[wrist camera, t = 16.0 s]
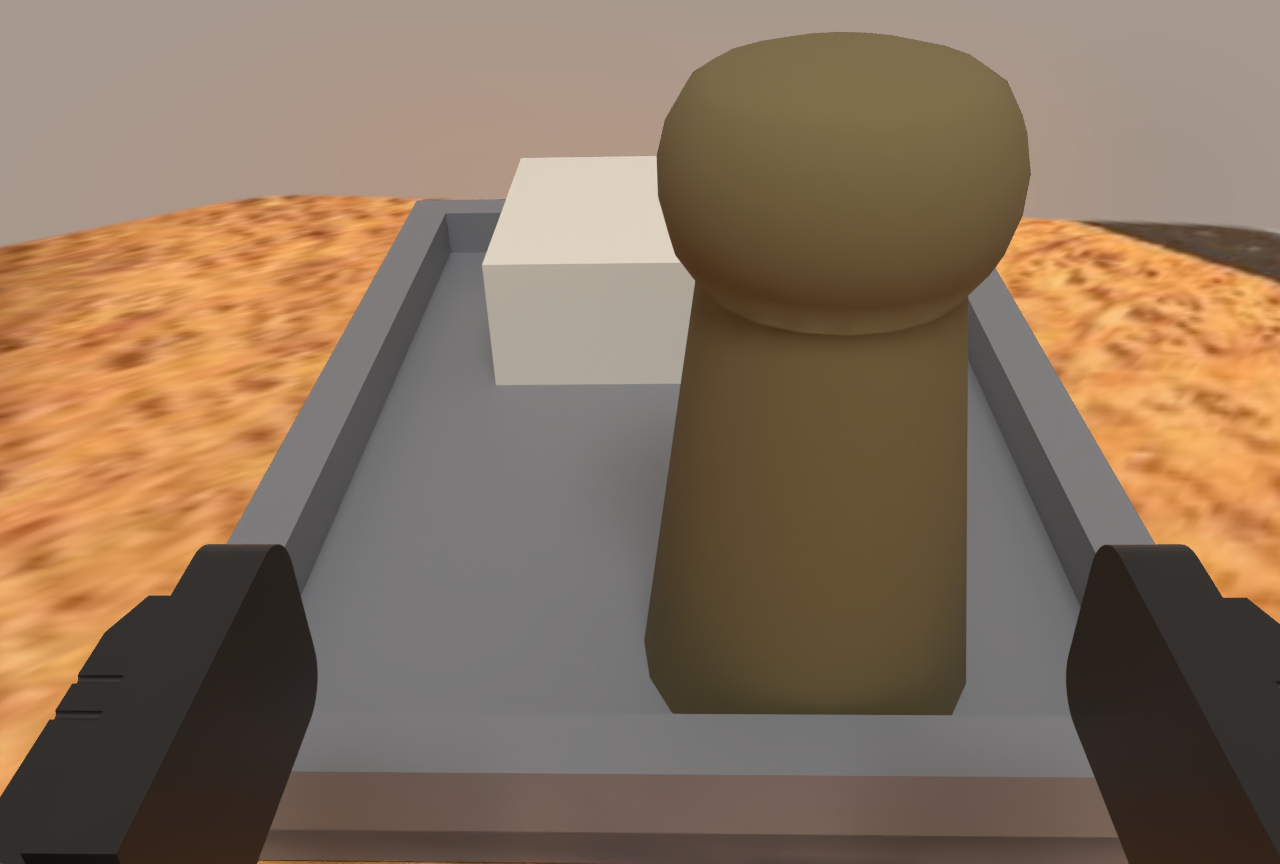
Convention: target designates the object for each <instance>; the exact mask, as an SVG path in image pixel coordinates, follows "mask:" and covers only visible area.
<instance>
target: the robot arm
mask: <svg viewBox="0 0 1280 864" xmlns="http://www.w3.org/2000/svg"><path fill="white" fill-rule="evenodd" d="M317 683H318V668H317V658H316V653H315V648H314V645H313V641H312V637H311V633H310V629H309V626H308V622H307V618H306V614H305V610H304V606H303V603H302V599H301V595H300V591H299V587H298V583H297V580H296V576H295V572H294V568H293V564H292V561H291V558H290V555H289V553H288V551H287V550H286V548H285V547H284V546H282V545H280V544H208V545H204V546H203V547H201V548H200V549H199V550H198V551H197V552H196V554H195V555H194V557H193V559H192V560H191V562H190V564H189V565H188V567H187V569H186V570H185V572H184V574H183V576H182V577H181V579H180V581H179V582H178V584H177V586H176V588H175V589H174V591H173V593H172V594H171V596H148V597H147V598H145V599H144V600H143V601H142V602H141V603H140V604H138V605H137V606H136V607H135V608H134V609H132V610H131V611H130V612H129V613H128V614H126V615H125V616H124V617H123V618H122V619H120V620H119V621H118V622H117V623H116V624H114V625H113V626H112V627H111V628H110V629H108V630H107V631H106V632H105V633H104V635H103V636H102V638H101V639H100V641H99V643H98V644H97V646H96V647H95V649H94V650H93V652H92V654H91V655H90V657H89V658H88V660H87V661H86V663H85V665H84V666H83V668H82V669H81V671H80V672H79V674H78V682H77V684H72V685H71V687H70V688H69V690H68V691H67V693H66V695H65V696H64V698H63V699H62V701H61V702H60V704H59V706H58V707H57V709H56V710H55V711H56V717H55V719H54V720H49V721H48V723H47V724H46V726H45V728H44V729H43V731H42V732H41V734H40V735H39V737H38V739H37V740H36V742H35V743H34V745H33V747H32V748H31V750H30V751H29V753H28V754H27V756H26V758H25V759H24V761H23V762H22V764H21V765H20V767H19V769H18V770H17V772H16V773H15V775H14V776H13V778H12V780H11V781H10V783H9V784H8V786H7V787H6V789H5V791H4V792H3V794H2V795H1V797H0V864H257V862H258V860H259V857H260V854H261V852H262V849H263V846H264V844H265V841H266V838H267V836H268V833H269V830H270V828H271V825H272V822H273V819H274V817H275V814H276V811H277V809H278V806H279V803H280V801H281V798H282V795H283V793H284V790H285V787H286V785H287V782H288V779H289V776H290V774H291V771H292V768H293V766H294V763H295V760H296V758H297V755H298V752H299V750H300V747H301V744H302V741H303V739H304V736H305V733H306V731H307V728H308V725H309V723H310V720H311V717H312V714H313V710H314V706H315V701H316V694H317ZM1066 690H1067V699H1068V705H1069V710H1070V714H1071V718H1072V721H1073V724H1074V726H1075V729H1076V731H1077V734H1078V736H1079V739H1080V742H1081V744H1082V747H1083V749H1084V752H1085V754H1086V757H1087V759H1088V762H1089V764H1090V767H1091V769H1092V772H1093V774H1094V777H1095V779H1096V782H1097V785H1098V787H1099V790H1100V792H1101V795H1102V797H1103V800H1104V802H1105V805H1106V807H1107V810H1108V812H1109V815H1110V817H1111V820H1112V822H1113V825H1114V828H1115V830H1116V833H1117V835H1118V838H1119V840H1120V843H1121V845H1122V848H1123V850H1124V853H1125V855H1126V858H1127V860H1128V863H1129V864H1280V624H1279V623H1278V622H1276V621H1275V620H1274V619H1273V618H1271V617H1270V616H1269V615H1268V614H1266V613H1265V612H1264V611H1263V610H1261V609H1260V608H1259V607H1258V606H1256V605H1255V604H1254V603H1253V602H1251V601H1250V600H1249V599H1247V598H1223V597H1222V596H1221V594H1220V592H1219V591H1218V589H1217V588H1216V586H1215V584H1214V583H1213V581H1212V580H1211V578H1210V576H1209V575H1208V573H1207V572H1206V570H1205V568H1204V567H1203V565H1202V564H1201V562H1200V560H1199V559H1198V557H1197V556H1196V554H1195V553H1194V552H1193V551H1192V550H1191V549H1190V548H1189V547H1187V546H1185V545H1181V544H1158V545H1103V546H1101V547H1100V548H1099V549H1098V551H1097V552H1096V554H1095V556H1094V559H1093V562H1092V565H1091V569H1090V573H1089V577H1088V581H1087V585H1086V588H1085V592H1084V596H1083V600H1082V604H1081V608H1080V612H1079V616H1078V619H1077V623H1076V627H1075V631H1074V635H1073V639H1072V643H1071V647H1070V651H1069V654H1068V659H1067V667H1066Z"/></svg>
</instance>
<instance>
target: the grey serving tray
mask: <svg viewBox="0 0 1280 864" xmlns="http://www.w3.org/2000/svg"><path fill="white" fill-rule="evenodd" d="M505 201H506V199H497V200H427V201H416V203H415V205H414V207H413V209H412V210H411V212H410V214H409V216H408V218H407V219H406V221H405V223H404V225H403V227H402V228H401V230H400V232H399V234H398V236H397V237H396V239H395V241H394V243H393V245H392V246H391V248H390V250H389V252H388V254H387V255H386V257H385V259H384V261H383V263H382V264H381V266H380V268H379V270H378V272H377V273H376V275H375V277H374V279H373V281H372V283H371V284H370V286H369V288H368V290H367V292H366V293H365V295H364V297H363V299H362V301H361V302H360V304H359V306H358V308H357V310H356V311H355V313H354V315H353V317H352V319H351V320H350V322H349V324H348V326H347V328H346V329H345V331H344V333H343V335H342V337H341V338H340V340H339V342H338V344H337V346H336V347H335V349H334V351H333V353H332V355H331V356H330V358H329V360H328V362H327V364H326V365H325V367H324V369H323V371H322V373H321V374H320V376H319V378H318V380H317V382H316V383H315V385H314V387H313V389H312V391H311V392H310V394H309V396H308V398H307V400H306V401H305V403H304V405H303V407H302V409H301V410H300V412H299V414H298V416H297V418H296V419H295V421H294V423H293V425H292V427H291V428H290V430H289V432H288V434H287V436H286V437H285V439H284V441H283V443H282V445H281V446H280V448H279V450H278V452H277V454H276V455H275V457H274V459H273V461H272V463H271V464H270V466H269V468H268V470H267V472H266V473H265V475H264V477H263V479H262V481H261V482H260V484H259V486H258V488H257V490H256V491H255V493H254V495H253V497H252V499H251V500H250V502H249V504H248V506H247V508H246V509H245V511H244V513H243V515H242V517H241V518H240V520H239V522H238V524H237V526H236V527H235V529H234V531H233V533H232V535H231V536H230V538H229V540H228V542H227V544H280V545H282V546H284V547H285V548H286V550H287V551H288V553H289V555H290V558H291V561H292V564H293V568H294V572H295V576H296V580H297V583H298V587H299V591H300V595H301V599H302V603H303V606H304V610H305V614H306V618H307V622H308V626H309V629H310V633H311V637H312V641H313V645H314V648H315V653H316V658H317V668H318V683H317V694H316V701H315V706H314V710H313V714H312V717H311V720H310V723H309V725H308V728H307V731H306V733H305V736H304V739H303V741H302V744H301V747H300V750H299V752H298V755H297V758H296V760H295V763H294V766H293V768H292V771H291V774H290V776H289V779H288V782H287V785H286V787H285V790H284V793H283V795H282V798H281V801H280V803H279V806H278V809H277V811H276V814H275V817H274V819H273V822H272V825H271V828H270V830H269V833H268V836H267V838H266V841H265V844H264V846H263V849H262V852H261V854H260V857H259V860H315V861H406V862H496V863H586V864H1129V863H1128V860H1127V858H1126V855H1125V853H1124V850H1123V848H1122V845H1121V843H1120V840H1119V838H1118V835H1117V833H1116V830H1115V828H1114V825H1113V822H1112V820H1111V817H1110V815H1109V812H1108V810H1107V807H1106V805H1105V802H1104V800H1103V797H1102V795H1101V792H1100V790H1099V787H1098V785H1097V782H1096V779H1095V777H1094V774H1093V772H1092V769H1091V767H1090V764H1089V762H1088V759H1087V757H1086V754H1085V752H1084V749H1083V747H1082V744H1081V742H1080V739H1079V736H1078V734H1077V731H1076V729H1075V726H1074V724H1073V721H1072V718H1071V714H1070V710H1069V705H1068V699H1067V690H1066V667H1067V659H1068V654H1069V651H1070V647H1071V643H1072V639H1073V635H1074V631H1075V627H1076V623H1077V619H1078V616H1079V612H1080V608H1081V604H1082V600H1083V596H1084V592H1085V588H1086V585H1087V581H1088V577H1089V573H1090V569H1091V565H1092V562H1093V559H1094V556H1095V554H1096V552H1097V551H1098V549H1099V548H1100V547H1101V546H1103V545H1155V543H1154V541H1153V539H1152V538H1151V536H1150V534H1149V533H1148V531H1147V529H1146V527H1145V526H1144V524H1143V522H1142V520H1141V519H1140V517H1139V515H1138V514H1137V512H1136V510H1135V508H1134V507H1133V505H1132V503H1131V501H1130V500H1129V498H1128V496H1127V495H1126V493H1125V491H1124V489H1123V488H1122V486H1121V484H1120V482H1119V481H1118V479H1117V477H1116V476H1115V474H1114V472H1113V470H1112V469H1111V467H1110V465H1109V463H1108V462H1107V460H1106V458H1105V457H1104V455H1103V453H1102V451H1101V450H1100V448H1099V446H1098V444H1097V443H1096V441H1095V439H1094V438H1093V436H1092V434H1091V432H1090V431H1089V429H1088V427H1087V425H1086V424H1085V422H1084V420H1083V419H1082V417H1081V415H1080V413H1079V412H1078V410H1077V408H1076V406H1075V405H1074V403H1073V401H1072V400H1071V398H1070V396H1069V394H1068V393H1067V391H1066V389H1065V387H1064V386H1063V384H1062V382H1061V381H1060V379H1059V377H1058V375H1057V374H1056V372H1055V370H1054V368H1053V367H1052V365H1051V363H1050V362H1049V360H1048V358H1047V356H1046V355H1045V353H1044V351H1043V349H1042V348H1041V346H1040V344H1039V343H1038V341H1037V339H1036V337H1035V336H1034V334H1033V332H1032V330H1031V329H1030V327H1029V325H1028V324H1027V322H1026V320H1025V318H1024V317H1023V315H1022V313H1021V311H1020V310H1019V308H1018V306H1017V305H1016V303H1015V301H1014V299H1013V298H1012V296H1011V294H1010V292H1009V291H1008V289H1007V287H1006V286H1005V284H1004V282H1003V280H1002V279H1001V277H1000V275H999V273H998V272H997V270H996V268H994V270H993V271H992V273H991V274H990V275H989V276H988V277H987V278H986V279H985V280H984V281H983V282H982V283H981V284H980V285H979V286H978V287H977V288H976V289H975V290H974V291H973V292H972V293H971V294H969V295H968V432H967V606H966V685H965V687H964V689H963V691H962V694H961V696H960V698H959V701H958V703H957V705H956V707H955V710H954V712H953V714H952V715H789V714H673V713H672V712H671V711H670V709H669V707H668V706H667V704H666V703H665V701H664V699H663V698H662V696H661V695H660V693H659V691H658V690H657V688H656V686H655V685H654V683H653V682H652V680H651V678H650V676H649V670H648V663H647V656H646V650H645V643H644V639H645V632H646V625H647V618H648V610H649V603H650V596H651V589H652V582H653V575H654V568H655V561H656V554H657V547H658V540H659V533H660V526H661V519H662V512H663V505H664V498H665V491H666V483H667V476H668V469H669V462H670V455H671V448H672V441H673V434H674V427H675V420H676V413H677V406H678V399H679V392H680V385H681V384H580V385H496V382H495V373H494V365H493V356H492V348H491V339H490V330H489V322H488V313H487V304H486V296H485V287H484V278H483V270H482V263H483V261H484V258H485V255H486V253H487V250H488V247H489V244H490V242H491V239H492V236H493V234H494V231H495V228H496V225H497V223H498V220H499V217H500V215H501V212H502V209H503V206H504V204H505Z"/></svg>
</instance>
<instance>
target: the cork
mask: <svg viewBox="0 0 1280 864" xmlns="http://www.w3.org/2000/svg"><path fill="white" fill-rule="evenodd" d="M1030 175H1031V173H1030V161H1029V149H1028V137H1027V130H1026V127H1025V124H1024V119H1023V115H1022V113H1021V111H1020V108H1019V106H1018V104H1017V102H1016V99H1015V97H1014V95H1013V93H1012V90H1011V88H1010V86H1009V84H1008V81H1006V80H1005V79H1003V78H1002V77H1001V76H1000V75H998V74H997V73H995V72H994V71H993V70H991V69H990V68H988V67H987V66H985V65H984V64H983V63H981V62H980V61H978V60H977V59H975V58H974V57H973V56H971V55H970V54H967V53H964V52H961V51H958V50H955V49H952V48H950V47H947V46H943V45H938V44H933V43H928V42H923V41H918V40H913V39H908V38H903V37H898V36H892V35H883V34H873V33H854V32H851V33H850V32H831V33H813V34H805V35H798V36H790V37H784V38H778V39H772V40H765V41H760V42H756V43H752V44H749V45H745V46H741V47H737V48H734V49H731V50H730V51H728V52H726V53H724V54H722V55H720V56H718V57H716V58H715V59H713V60H711V61H710V62H708V63H707V64H705V65H704V66H702V67H700V68H699V69H697V70H696V71H694V72H693V73H692V75H691V76H690V78H689V79H688V81H687V83H686V84H685V86H684V88H683V89H682V91H681V93H680V95H679V96H678V98H677V100H676V101H675V103H674V105H673V107H672V108H671V110H670V112H669V114H668V115H667V117H666V119H665V122H664V127H663V131H662V135H661V140H660V144H659V149H658V153H657V184H658V198H659V202H660V206H661V209H662V213H663V216H664V220H665V223H666V227H667V230H668V234H669V237H670V240H671V243H672V247H673V250H674V253H675V256H676V257H677V258H678V259H679V261H680V262H681V263H682V265H683V266H684V267H685V269H686V270H687V271H688V272H689V274H690V275H691V276H692V278H693V279H694V280H695V286H694V293H693V300H692V307H691V314H690V321H689V328H688V335H687V342H686V349H685V356H684V364H683V371H682V378H681V385H680V392H679V399H678V406H677V413H676V420H675V427H674V434H673V441H672V448H671V455H670V462H669V469H668V476H667V483H666V491H665V498H664V505H663V512H662V519H661V526H660V533H659V540H658V547H657V554H656V561H655V568H654V575H653V582H652V589H651V596H650V603H649V610H648V618H647V625H646V632H645V639H644V643H645V650H646V656H647V663H648V670H649V676H650V678H651V680H652V682H653V683H654V685H655V686H656V688H657V690H658V691H659V693H660V695H661V696H662V698H663V699H664V701H665V703H666V704H667V706H668V707H669V709H670V711H671V712H672V713H673V714H789V715H952V714H953V712H954V710H955V707H956V705H957V703H958V701H959V698H960V696H961V694H962V691H963V689H964V687H965V685H966V606H967V432H968V295H969V294H971V293H972V292H973V291H974V290H975V289H976V288H977V287H978V286H979V285H980V284H981V283H982V282H983V281H984V280H985V279H986V278H987V277H988V276H989V275H990V274H991V273H992V271H993V270H994V268H995V267H996V266H997V264H998V263H999V261H1000V260H1001V259H1002V257H1003V256H1004V254H1005V252H1006V250H1007V248H1008V246H1009V244H1010V241H1011V239H1012V237H1013V235H1014V233H1015V231H1016V229H1017V226H1018V224H1019V222H1020V220H1021V218H1022V216H1023V211H1024V206H1025V200H1026V195H1027V190H1028V185H1029V179H1030Z"/></svg>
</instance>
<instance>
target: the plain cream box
mask: <svg viewBox="0 0 1280 864" xmlns="http://www.w3.org/2000/svg"><path fill="white" fill-rule="evenodd" d="M482 270H483V278H484V287H485V296H486V304H487V313H488V322H489V330H490V339H491V348H492V356H493V365H494V373H495V382H496V385H580V384H681V378H682V371H683V364H684V356H685V349H686V342H687V335H688V328H689V321H690V314H691V307H692V300H693V293H694V286H695V280H694V279H693V278H692V276H691V275H690V274H689V272H688V271H687V270H686V269H685V267H684V266H683V265H682V263H681V262H680V261H679V259H678V258H677V257H676V256H675V253H674V250H673V247H672V243H671V240H670V237H669V234H668V230H667V227H666V223H665V220H664V216H663V213H662V209H661V206H660V202H659V198H658V184H657V156H630V157H571V158H521V161H520V163H519V166H518V169H517V172H516V174H515V177H514V179H513V182H512V185H511V188H510V190H509V193H508V196H507V198H506V201H505V204H504V206H503V209H502V212H501V215H500V217H499V220H498V223H497V225H496V228H495V231H494V234H493V236H492V239H491V242H490V244H489V247H488V250H487V253H486V255H485V258H484V261H483V263H482Z"/></svg>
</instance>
